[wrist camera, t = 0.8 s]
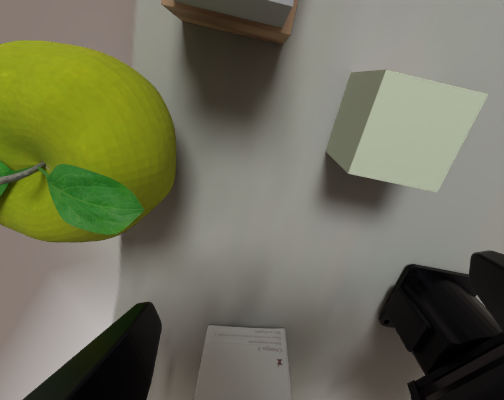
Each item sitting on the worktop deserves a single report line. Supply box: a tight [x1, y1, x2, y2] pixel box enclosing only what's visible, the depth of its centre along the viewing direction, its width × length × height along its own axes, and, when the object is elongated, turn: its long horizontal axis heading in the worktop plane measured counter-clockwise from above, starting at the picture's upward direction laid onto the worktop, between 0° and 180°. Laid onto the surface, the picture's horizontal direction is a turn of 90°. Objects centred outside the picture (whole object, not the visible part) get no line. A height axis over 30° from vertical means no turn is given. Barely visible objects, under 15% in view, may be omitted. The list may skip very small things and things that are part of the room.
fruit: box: [0, 40, 176, 242], centre depth 14 cm, size 9×9×10 cm
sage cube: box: [326, 70, 488, 192], centre depth 16 cm, size 5×5×5 cm
